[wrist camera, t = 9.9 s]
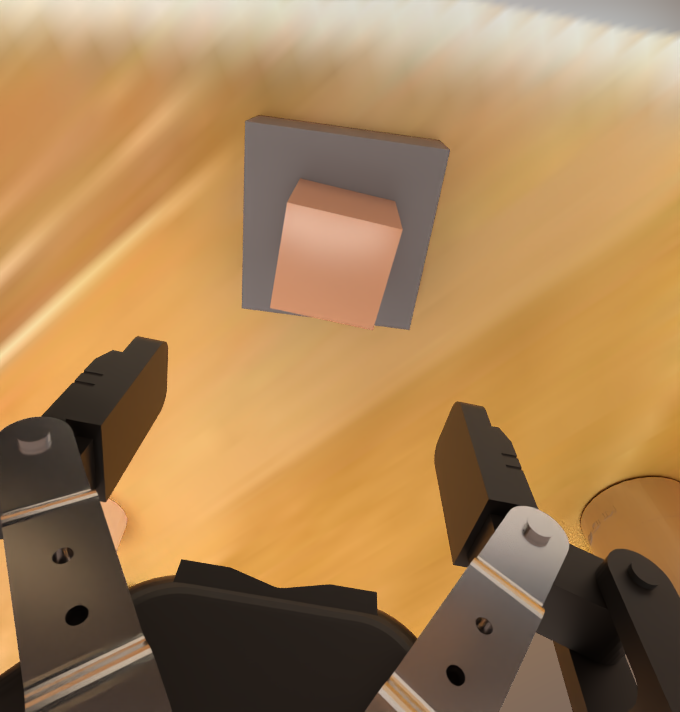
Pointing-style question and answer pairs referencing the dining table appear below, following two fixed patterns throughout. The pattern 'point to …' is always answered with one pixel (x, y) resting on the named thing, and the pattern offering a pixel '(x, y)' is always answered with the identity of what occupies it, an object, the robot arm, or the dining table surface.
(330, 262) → the terracotta cube
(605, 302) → the dining table surface
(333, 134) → the charcoal block
